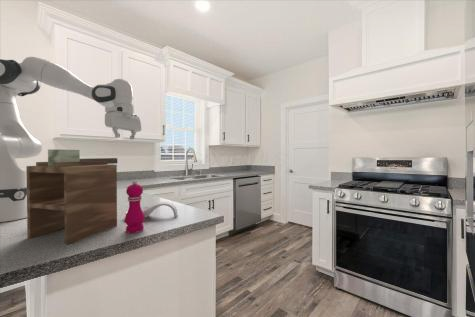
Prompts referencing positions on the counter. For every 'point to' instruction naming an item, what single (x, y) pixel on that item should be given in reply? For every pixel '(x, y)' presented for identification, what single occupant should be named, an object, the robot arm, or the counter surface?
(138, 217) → the pepper mill
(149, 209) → the spoon rest
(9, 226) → the counter surface
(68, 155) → the block
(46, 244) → the counter surface
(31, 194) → the walnut shelf
